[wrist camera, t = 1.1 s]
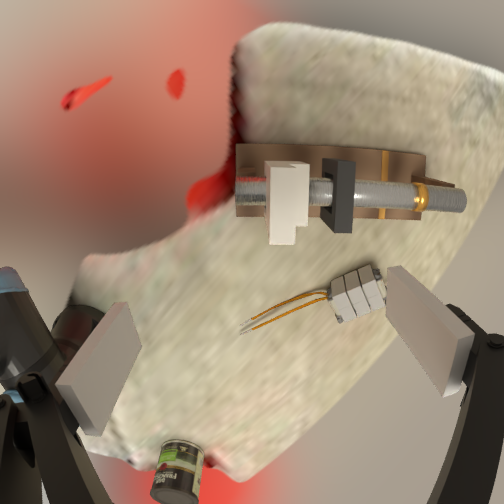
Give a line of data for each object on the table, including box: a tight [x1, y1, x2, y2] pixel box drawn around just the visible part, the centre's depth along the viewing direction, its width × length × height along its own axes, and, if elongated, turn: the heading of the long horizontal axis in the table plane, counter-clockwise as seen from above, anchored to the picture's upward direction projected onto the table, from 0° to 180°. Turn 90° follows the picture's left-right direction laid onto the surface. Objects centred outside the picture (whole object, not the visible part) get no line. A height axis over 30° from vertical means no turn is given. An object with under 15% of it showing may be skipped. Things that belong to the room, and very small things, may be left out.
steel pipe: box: [235, 176, 467, 213], centre depth 33 cm, size 27×3×3 cm, turn 90°
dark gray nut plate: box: [320, 158, 356, 233], centre depth 33 cm, size 2×7×7 cm, turn 0°
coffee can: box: [150, 440, 204, 504], centre depth 57 cm, size 10×10×14 cm
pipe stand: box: [236, 144, 455, 220], centre depth 39 cm, size 28×10×10 cm, turn 90°
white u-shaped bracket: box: [264, 161, 310, 245], centre depth 30 cm, size 4×6×12 cm, turn 0°
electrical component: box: [240, 264, 387, 335], centre depth 49 cm, size 24×6×5 cm, turn 119°
